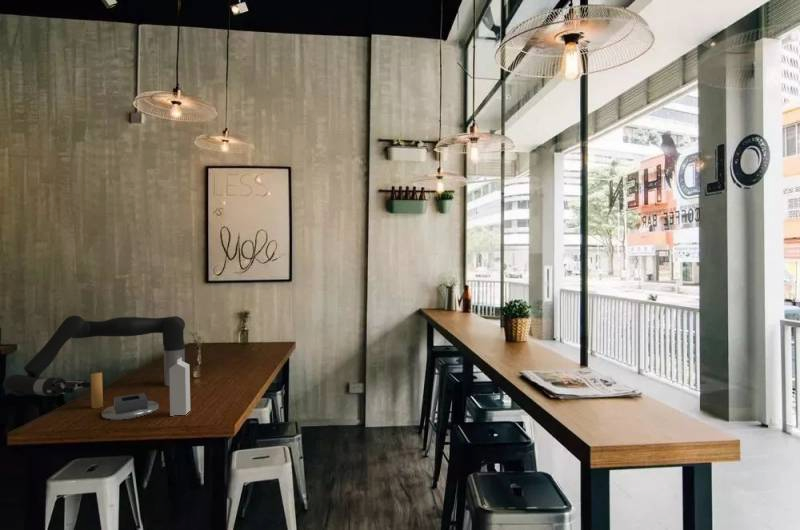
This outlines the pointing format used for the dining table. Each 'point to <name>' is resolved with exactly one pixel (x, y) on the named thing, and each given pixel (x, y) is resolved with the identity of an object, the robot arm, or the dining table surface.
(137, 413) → the square frame on disc
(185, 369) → the milk
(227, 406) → the dining table surface
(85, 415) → the dining table surface
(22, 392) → the robot arm
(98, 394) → the pin
